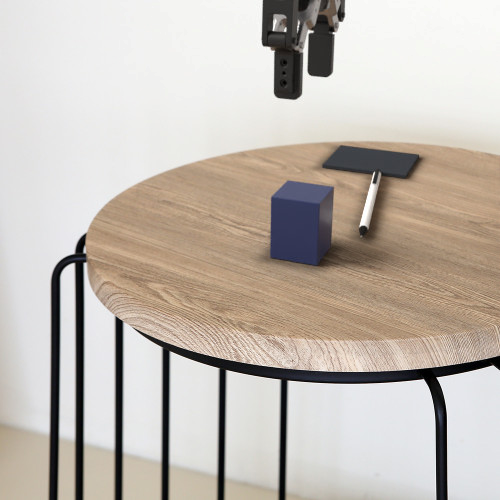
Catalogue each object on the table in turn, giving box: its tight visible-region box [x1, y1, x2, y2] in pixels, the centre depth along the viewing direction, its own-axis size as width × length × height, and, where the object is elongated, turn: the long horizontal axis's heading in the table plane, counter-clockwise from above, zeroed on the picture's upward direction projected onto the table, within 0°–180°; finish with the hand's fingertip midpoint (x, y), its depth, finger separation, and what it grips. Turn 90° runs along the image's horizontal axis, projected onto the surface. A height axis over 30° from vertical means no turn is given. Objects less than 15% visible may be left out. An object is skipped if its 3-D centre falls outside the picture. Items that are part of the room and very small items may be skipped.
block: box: [269, 180, 335, 266], centre depth 73 cm, size 4×4×6 cm
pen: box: [358, 169, 382, 238], centre depth 84 cm, size 1×19×1 cm, turn 167°
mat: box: [321, 144, 420, 179], centre depth 97 cm, size 10×8×1 cm
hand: (304, 86), depth 68 cm, fingers open, 8 cm apart
